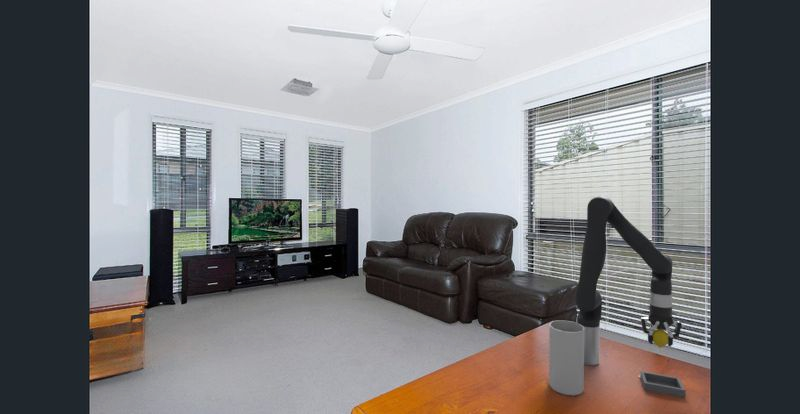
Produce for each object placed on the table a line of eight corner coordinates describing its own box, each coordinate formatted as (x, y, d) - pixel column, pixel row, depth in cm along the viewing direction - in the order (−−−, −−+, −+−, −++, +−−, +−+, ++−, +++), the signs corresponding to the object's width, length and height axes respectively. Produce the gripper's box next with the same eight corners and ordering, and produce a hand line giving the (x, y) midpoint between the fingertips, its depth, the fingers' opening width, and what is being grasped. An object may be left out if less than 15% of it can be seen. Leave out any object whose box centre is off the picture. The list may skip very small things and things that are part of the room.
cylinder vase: (568, 400, 139) (569, 334, 138) (542, 384, 150) (542, 323, 149) (590, 391, 145) (591, 328, 143) (563, 376, 156) (563, 318, 155)
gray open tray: (644, 390, 145) (644, 382, 145) (640, 378, 154) (640, 371, 154) (685, 398, 139) (685, 390, 139) (678, 385, 148) (679, 377, 148)
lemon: (671, 350, 148) (671, 331, 148) (655, 350, 149) (656, 330, 149) (663, 345, 154) (664, 326, 153) (649, 344, 155) (649, 325, 154)
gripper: (641, 304, 150) (640, 345, 151) (685, 308, 144) (684, 351, 145) (638, 299, 157) (637, 338, 158) (679, 303, 151) (679, 343, 152)
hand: (660, 344), depth 151 cm, fingers closed on lemon, 5 cm apart
